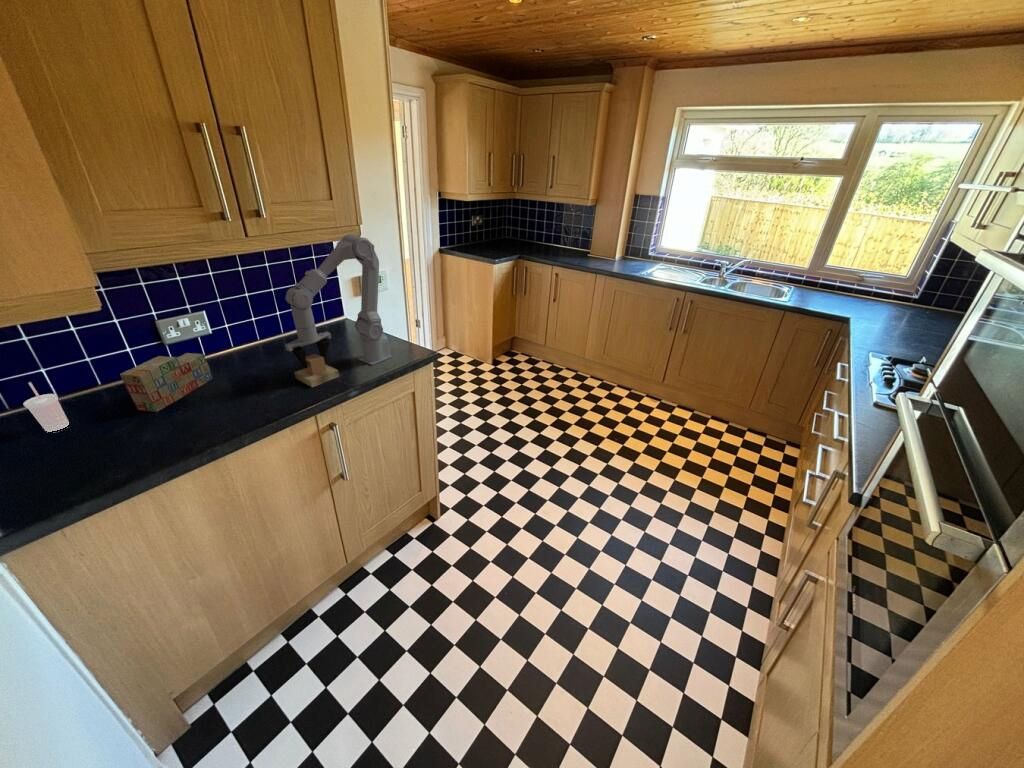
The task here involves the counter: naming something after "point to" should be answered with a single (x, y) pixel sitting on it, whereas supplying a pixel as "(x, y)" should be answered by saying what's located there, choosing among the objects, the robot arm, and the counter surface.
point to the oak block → (317, 376)
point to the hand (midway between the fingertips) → (314, 363)
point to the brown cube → (315, 364)
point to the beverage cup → (47, 411)
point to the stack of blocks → (165, 380)
